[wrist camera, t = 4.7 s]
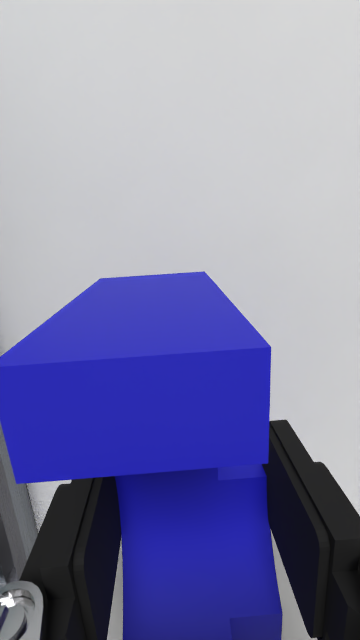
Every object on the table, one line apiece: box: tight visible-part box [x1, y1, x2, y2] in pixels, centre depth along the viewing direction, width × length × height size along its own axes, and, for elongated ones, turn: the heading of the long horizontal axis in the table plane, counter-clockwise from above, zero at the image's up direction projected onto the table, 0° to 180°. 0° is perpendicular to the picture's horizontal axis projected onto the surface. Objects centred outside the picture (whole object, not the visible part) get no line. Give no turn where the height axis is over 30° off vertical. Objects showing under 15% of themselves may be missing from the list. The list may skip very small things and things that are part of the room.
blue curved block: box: [0, 272, 282, 640], centre depth 8 cm, size 12×4×6 cm, turn 4°
